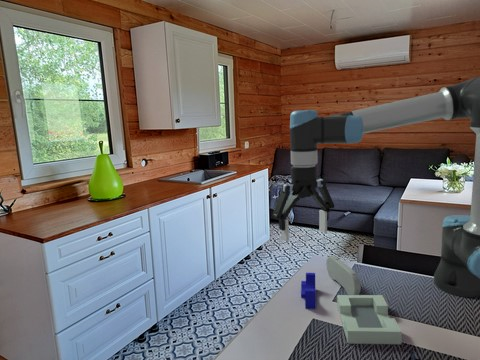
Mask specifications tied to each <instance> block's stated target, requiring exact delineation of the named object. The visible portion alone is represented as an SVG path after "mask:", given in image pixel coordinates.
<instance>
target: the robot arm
mask: <svg viewBox="0 0 480 360" xmlns="http://www.w3.org/2000/svg"><path fill="white" fill-rule="evenodd" d="M289 117H290V118H289V119H290V120H289V140H290V141H289V143H290V145H289V147H290V164H291V166H290V178H291V183H290V184H286V183H282V185H281V189H280V191H281V192H280V194H279V196H278V200H277V201H276V205H275V208H274V210H273V212H272V215H271V216H272V217H273V218H275V219H277V220H278V228H279V230H280V231H281V240H282V241H284V242H286V243H288V242H290V235H289V233H290V232H289V231H290V228H289V219H287V217H289V214H290V213H291V211H293V209H294V207H295V205H296V203H297V202H298V201H300V199H305V198H312V199H313V200H314V201H315V203H317V205H318V207H320V209H319V211H318V213H319V215H318V219H319V220H318V222H319V224H318V225H319V226H318V227H319V229H318V230H319V231H320V232H322V233H325V234H327V233H328V221H329V217H330V216H329V214H330V213H331V212H332V209H334V208H335V203H334V201H333V199H332V197H331V194H330V192H329V190H328V188H327V180H326V179H323V178H320V177H319V178H318V165H317V164H318V161H319V160H318V159H319V158H318V145H324V144H325V145H327V144H329V145H330V144H333V145H334V144H337V145H338V144H348V145H350V144H358V143H360V142H361V141H362V140H363V137H364V135H365V134H369V133H374V132H378V131H384V130H388V129H389V130H390V129H395V128H398V127H403V126H408V125H413V124H414V125H415V124H418V123H425V122H428V121H433V120H439V119H444V120H445V121H451V120H455V119H456V120H457V119H470V125H469V128H470V129H471V131H472V132H474V133H475V135H476V137H475V146H474V147H475V150H474V164H473V177H472V187H471V188H472V190H471V200H470V201H471V203H470V204H471V205H470V214H468V215H467V214H464V215H463V214H453V215H447V216H445V217H444V219H443V221H442V225H441V227H442V232H441V257H440V261H439V263H438V265H437V268H436V270H435V272H434V274H433V283H434V285H435V286H436V287H437V288H439V289H440V290H441V291H443V292H446V293H448V294H451V295H455V296H458V297H464V298H480V76H477V77H473V78H470V79H467V80H465V81H462V82H459V83H455V84H453V85H448V86H443V87H441V88H440V90H439V91H437V92H434V93H433V92H432V93H428V94H423V95H419V96H414V97H410V98H406V99H401V100H397V101H393V102H387V103H383V104H378V105H373V106H369V107H364V108H360V109H357V110H356V109H355V110H351V111H347V112H342V113H334V114H330V115H329V116H319V115H318V111H317V110H316V109H305V110H303V109H301V110H293V111H292V112H291V113H290V116H289ZM317 187H318V190H319V192H318V190H316V188H317ZM320 194H321V196H320Z"/></svg>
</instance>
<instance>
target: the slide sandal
mask: <svg viewBox="0 0 480 360" xmlns="http://www.w3.org/2000/svg"><path fill="white" fill-rule="evenodd" d="M325 265H326V271H327V273H328V276H329V277H330V279H331V280H332V281H336V282H337V283H338V284H339V285H340V286H342V288H343V289H344V290H345V292H346V295H361V294H360V293H361V291H362V290H361V289H362V287H361V281H360V278H359V276H358V274H357V273H356V271H355V270H353V269H352V268H351V267H350V266H348V265H347V264H346V263H345V262H344V261H342V259H340V258H339V257H337V256H336V255H332V254H331V255H330V256H328V257H327V259H326V264H325Z"/></svg>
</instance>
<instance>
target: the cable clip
mask: <svg viewBox="0 0 480 360" xmlns="http://www.w3.org/2000/svg"><path fill="white" fill-rule="evenodd" d="M300 286H301V287H300V298H301V299H304V304H305V305H304V306H305V307H304V308H305V310H316V307H317V304H316V303H317V301H316V299H317V298H316V273H315V272H305V280H301V285H300Z"/></svg>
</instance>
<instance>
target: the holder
mask: <svg viewBox="0 0 480 360" xmlns="http://www.w3.org/2000/svg"><path fill="white" fill-rule="evenodd" d="M336 295H337V296H336V306H337V309H338V314H339V317H340V320H341V325H342V329H343V331H344V334H345V337H346V342H347V344H356V345H357V344H359V345H360V344H361V345H362V344H363V345H365V344H366V345H368V344H369V345H370V344H371V345H402V337H403V336H402V335H403V332H402V330H401V328H400V326H399V323H398V322H397V320H396V318H394V317H391V318H390V316H389V311H388V310H389V306H388V303H387V302H386V300H385V298H384V296H383V295H382V294H372V295H371V294H359V295H348V294H336Z"/></svg>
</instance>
